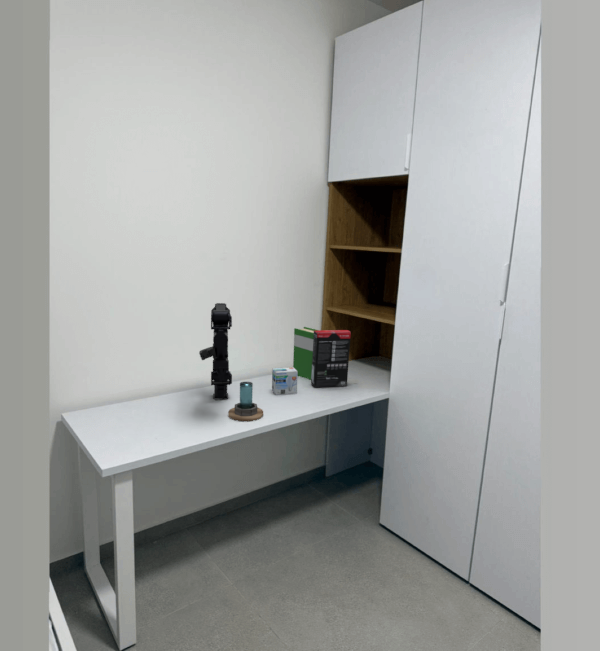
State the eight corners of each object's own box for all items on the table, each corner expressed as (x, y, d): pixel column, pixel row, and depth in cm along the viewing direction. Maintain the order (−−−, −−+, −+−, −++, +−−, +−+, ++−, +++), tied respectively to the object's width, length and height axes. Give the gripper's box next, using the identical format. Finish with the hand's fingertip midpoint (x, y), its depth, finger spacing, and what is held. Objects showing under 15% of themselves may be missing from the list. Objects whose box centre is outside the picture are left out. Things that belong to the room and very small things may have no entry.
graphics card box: (343, 382, 248) (346, 328, 243) (348, 386, 242) (351, 331, 236) (310, 384, 244) (312, 329, 238) (314, 388, 237) (316, 332, 232)
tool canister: (237, 413, 201) (237, 384, 198) (243, 409, 205) (243, 380, 203) (248, 415, 199) (248, 386, 197) (254, 410, 203) (254, 382, 201)
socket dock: (228, 409, 208) (228, 400, 207) (261, 408, 210) (261, 399, 209) (228, 422, 194) (228, 412, 194) (264, 420, 197) (264, 411, 196)
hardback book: (293, 373, 260) (294, 328, 255) (303, 371, 265) (304, 326, 260) (316, 382, 247) (318, 334, 243) (327, 379, 252) (329, 332, 248)
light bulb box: (275, 395, 227) (275, 372, 224) (271, 390, 233) (271, 368, 231) (297, 393, 230) (298, 370, 228) (293, 388, 236) (293, 366, 234)
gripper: (201, 336, 211) (201, 372, 214) (199, 347, 193) (199, 385, 196) (228, 336, 212) (227, 371, 215) (228, 346, 194) (228, 385, 197)
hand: (220, 378), depth 206 cm, fingers open, 9 cm apart
